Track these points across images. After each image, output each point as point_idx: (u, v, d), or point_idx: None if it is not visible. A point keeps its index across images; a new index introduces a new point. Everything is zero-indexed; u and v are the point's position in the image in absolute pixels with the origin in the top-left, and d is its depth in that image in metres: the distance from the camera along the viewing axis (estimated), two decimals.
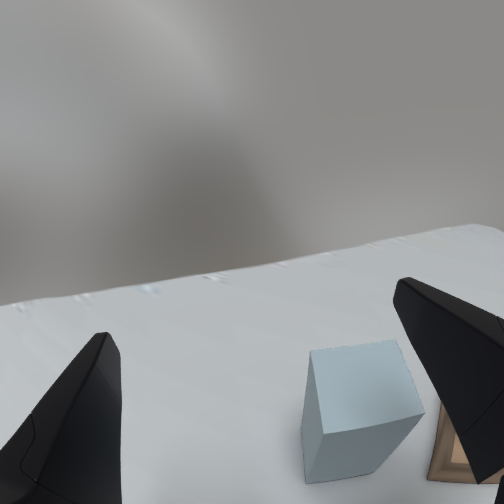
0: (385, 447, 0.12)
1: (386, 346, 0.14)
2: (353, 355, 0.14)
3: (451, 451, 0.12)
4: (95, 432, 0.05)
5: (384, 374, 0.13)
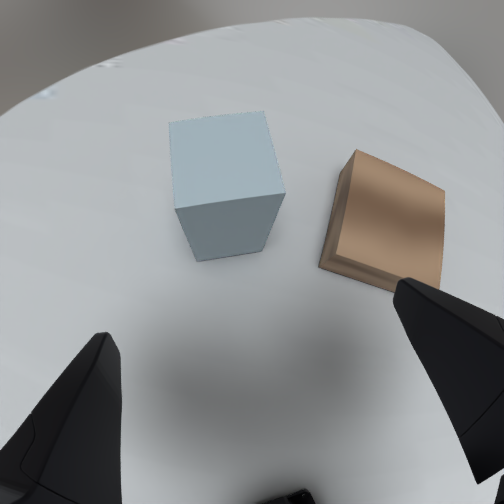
0: (257, 225, 0.17)
1: (251, 117, 0.14)
2: (212, 125, 0.14)
3: (337, 242, 0.19)
4: (95, 432, 0.05)
5: (244, 146, 0.14)
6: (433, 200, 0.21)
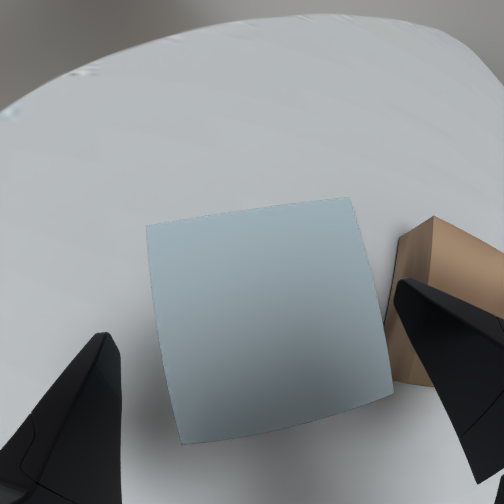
0: None
1: (327, 215, 0.07)
2: (246, 238, 0.07)
3: (409, 365, 0.12)
4: (95, 432, 0.05)
5: (319, 297, 0.06)
6: None
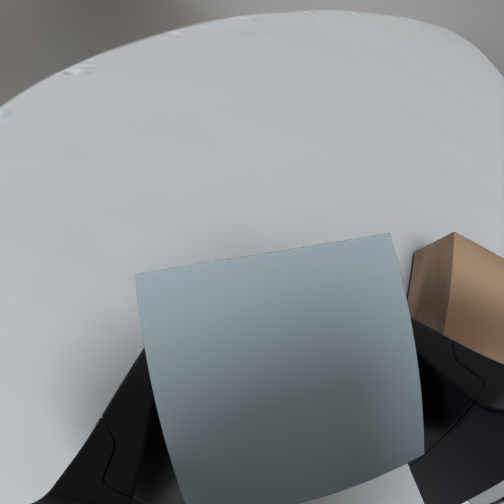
0: None
1: (364, 258, 0.05)
2: (265, 292, 0.05)
3: None
4: None
5: (353, 361, 0.05)
6: None
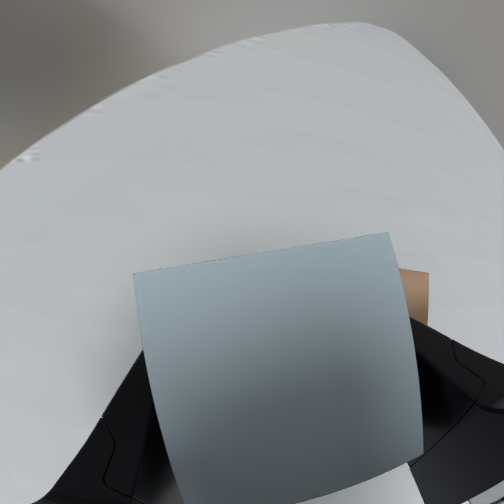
0: None
1: (363, 257, 0.05)
2: (263, 292, 0.05)
3: None
4: None
5: (352, 361, 0.05)
6: (414, 292, 0.19)
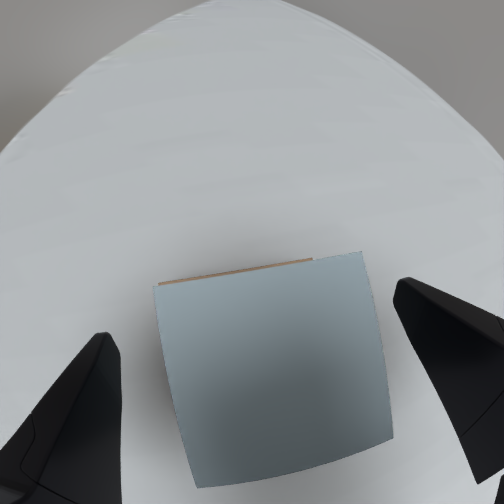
0: None
1: (338, 273, 0.07)
2: (256, 301, 0.06)
3: None
4: (95, 432, 0.05)
5: (327, 356, 0.06)
6: None
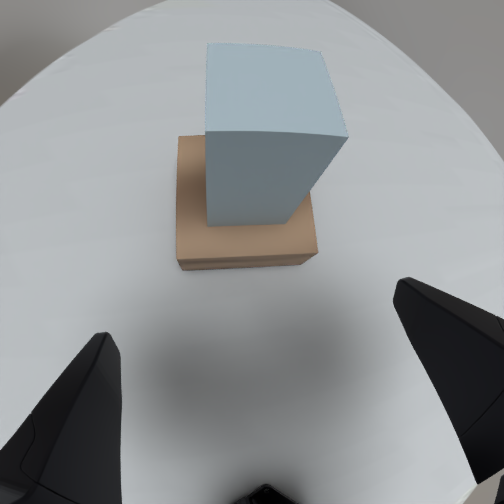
0: (296, 182, 0.13)
1: (306, 54, 0.11)
2: (261, 53, 0.10)
3: (176, 245, 0.18)
4: (95, 432, 0.05)
5: (299, 79, 0.10)
6: None
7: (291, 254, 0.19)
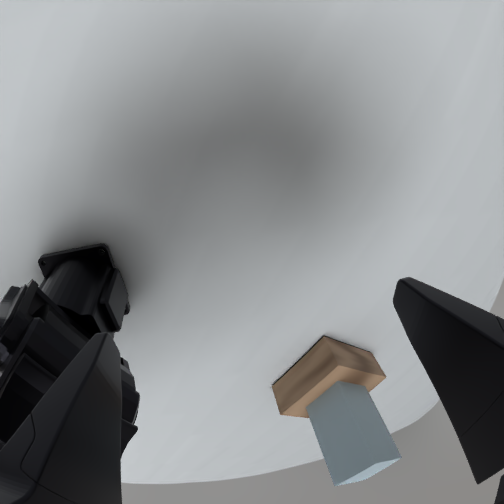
0: (329, 449, 0.23)
1: (367, 477, 0.22)
2: (381, 469, 0.21)
3: (343, 364, 0.26)
4: (95, 432, 0.05)
5: (362, 476, 0.21)
6: None
7: (290, 405, 0.28)
